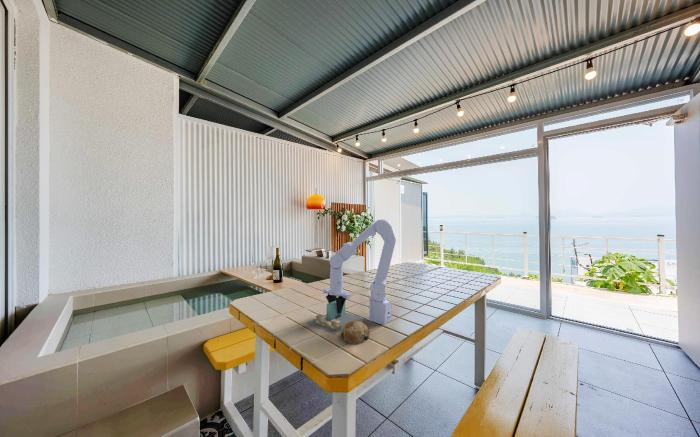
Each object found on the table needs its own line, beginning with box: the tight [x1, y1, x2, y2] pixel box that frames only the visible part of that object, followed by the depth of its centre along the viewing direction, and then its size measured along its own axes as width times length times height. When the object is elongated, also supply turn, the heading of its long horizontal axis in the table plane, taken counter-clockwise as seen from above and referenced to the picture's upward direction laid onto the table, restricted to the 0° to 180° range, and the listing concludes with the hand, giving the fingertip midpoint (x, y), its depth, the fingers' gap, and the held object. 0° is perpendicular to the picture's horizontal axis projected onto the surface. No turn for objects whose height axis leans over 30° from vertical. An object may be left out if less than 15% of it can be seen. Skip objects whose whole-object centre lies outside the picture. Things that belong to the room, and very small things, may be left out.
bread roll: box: [340, 320, 371, 344], centre depth 90 cm, size 10×10×8 cm
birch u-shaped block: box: [315, 313, 341, 330], centre depth 100 cm, size 12×2×3 cm, turn 53°
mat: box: [305, 311, 364, 335], centre depth 105 cm, size 16×20×1 cm
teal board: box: [326, 301, 346, 322], centre depth 109 cm, size 2×10×7 cm, turn 142°
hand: (336, 312), depth 109 cm, fingers open, 3 cm apart
